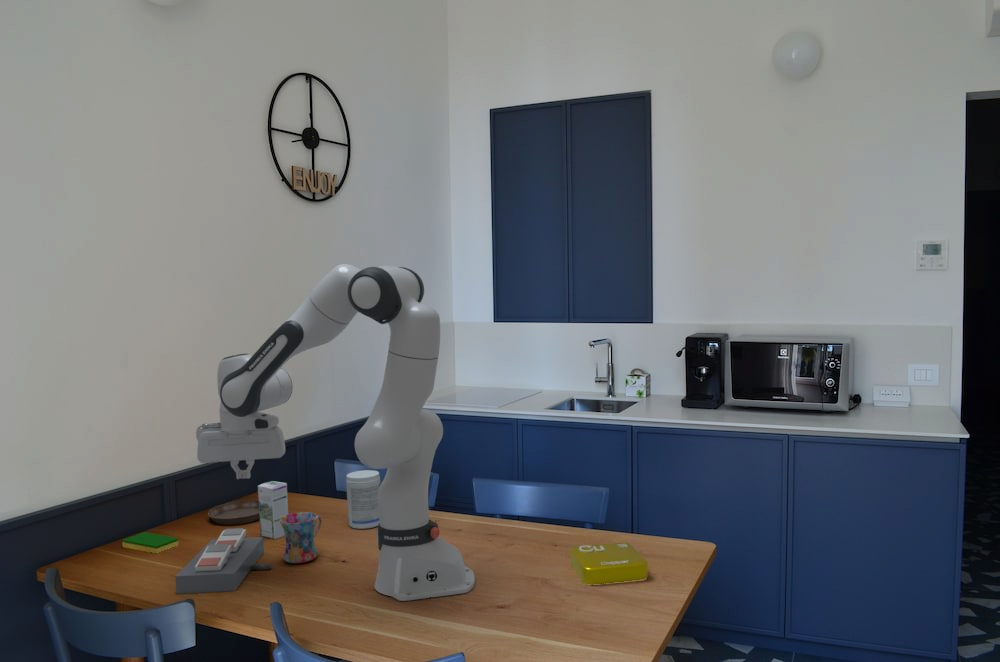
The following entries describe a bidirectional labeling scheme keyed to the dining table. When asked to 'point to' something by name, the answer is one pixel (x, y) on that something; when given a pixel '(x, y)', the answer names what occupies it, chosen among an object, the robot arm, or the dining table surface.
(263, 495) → the syrup box
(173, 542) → the dish sponge
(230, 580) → the switch panel
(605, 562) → the element tile
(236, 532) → the rocker
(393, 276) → the robot arm
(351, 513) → the supplement tub
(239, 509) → the plant saucer
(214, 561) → the rocker
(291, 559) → the mug
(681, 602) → the dining table surface
